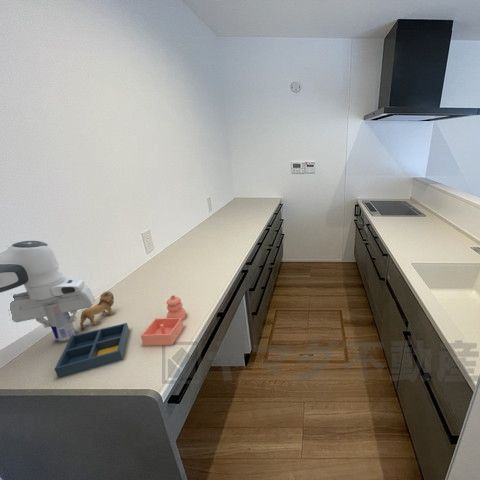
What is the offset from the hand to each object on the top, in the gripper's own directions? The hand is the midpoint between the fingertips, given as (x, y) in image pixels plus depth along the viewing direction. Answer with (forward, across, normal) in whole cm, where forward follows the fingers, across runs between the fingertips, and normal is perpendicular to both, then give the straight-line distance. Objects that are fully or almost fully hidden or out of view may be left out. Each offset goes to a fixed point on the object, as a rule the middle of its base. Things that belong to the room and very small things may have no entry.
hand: (61, 323), depth 90 cm
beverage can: (+6, 0, 0) cm, 6 cm away
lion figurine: (+6, +8, +8) cm, 13 cm away
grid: (+6, +11, -13) cm, 18 cm away
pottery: (+6, +32, -10) cm, 34 cm away
